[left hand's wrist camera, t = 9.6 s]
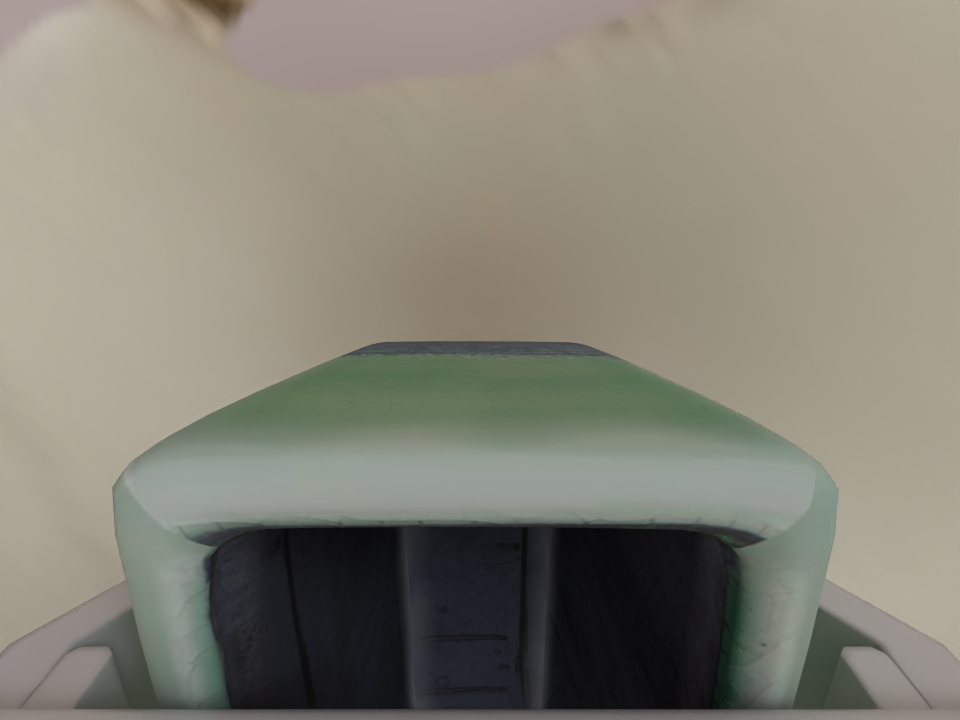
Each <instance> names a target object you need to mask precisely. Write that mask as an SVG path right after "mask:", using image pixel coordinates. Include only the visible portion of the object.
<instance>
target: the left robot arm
mask: <svg viewBox="0 0 960 720" xmlns="http://www.w3.org/2000/svg"><path fill="white" fill-rule="evenodd" d="M0 720H960V661H959V660H958V659H957V658H956V657H955V656H954V655H953V654H952V653H951V652H950V651H949V650H948V649H947V647H946V646H945V645H943V644H942V643H940V642H938V641H936V640H934V639H933V638H931V637H929V636H927V635H925V634H924V633H922V632H920V631H918V630H916V629H915V628H913V627H911V626H909V625H907V624H906V623H904V622H902V621H900V620H898V619H897V618H895V617H893V616H891V615H890V614H888V613H886V612H884V611H882V610H881V609H879V608H877V607H875V606H873V605H872V604H870V603H868V602H866V601H864V600H863V599H861V598H859V597H857V596H855V595H854V594H852V593H850V592H848V591H846V590H845V589H843V588H841V587H839V586H838V585H836V584H834V583H832V582H830V581H829V580H827V579H825V580H824V584H823V589H822V593H821V597H820V601H819V606H818V610H817V614H816V619H815V623H814V627H813V631H812V636H811V640H810V644H809V648H808V651H807V655H806V659H805V662H804V666H803V670H802V674H801V677H800V681H799V685H798V688H797V692H796V696H795V699H794V703H793V707H792V709H159V706H158V703H157V699H156V696H155V692H154V688H153V685H152V681H151V678H150V674H149V670H148V667H147V663H146V659H145V656H144V652H143V649H142V645H141V641H140V637H139V633H138V629H137V625H136V621H135V616H134V612H133V608H132V604H131V599H130V595H129V591H128V587H127V583H126V580H125V581H123V582H121V583H120V584H118V585H116V586H114V587H112V588H110V589H109V590H107V591H105V592H103V593H101V594H100V595H98V596H96V597H94V598H92V599H91V600H89V601H87V602H85V603H83V604H81V605H80V606H78V607H76V608H74V609H72V610H71V611H69V612H67V613H65V614H63V615H61V616H60V617H58V618H56V619H54V620H52V621H51V622H49V623H47V624H45V625H43V626H42V627H40V628H38V629H36V630H34V631H32V632H31V633H29V634H27V635H25V636H23V637H22V638H20V639H18V640H16V641H14V642H12V643H11V644H9V645H8V646H7V647H6V648H5V649H4V651H3V652H2V653H1V654H0Z"/></svg>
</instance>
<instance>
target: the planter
mask: <svg viewBox="0 0 960 720" xmlns="http://www.w3.org/2000/svg"><path fill="white" fill-rule="evenodd" d="M112 490H113V506H114V522H115V535H116V540H117V544H118V549H119V553H120V557H121V561H122V566H123V570H124V574H125V578H126V583H127V587H128V591H129V595H130V599H131V604H132V608H133V612H134V616H135V621H136V625H137V629H138V633H139V637H140V641H141V645H142V649H143V652H144V656H145V659H146V663H147V667H148V670H149V674H150V678H151V681H152V685H153V688H154V692H155V696H156V699H157V703H158V706H159V709H792V707H793V703H794V699H795V696H796V692H797V688H798V685H799V681H800V677H801V674H802V670H803V666H804V662H805V659H806V655H807V651H808V648H809V644H810V640H811V636H812V631H813V627H814V623H815V619H816V614H817V610H818V606H819V601H820V597H821V593H822V589H823V584H824V580H825V576H826V571H827V567H828V563H829V559H830V554H831V550H832V546H833V541H834V537H835V526H836V513H837V500H838V488H837V486H836V485H835V483H834V481H833V480H832V478H831V477H830V475H829V474H828V473H827V471H826V470H825V469H824V467H823V466H822V465H821V463H820V462H818V461H817V460H816V459H814V458H813V457H811V456H810V455H809V454H807V453H806V452H805V451H803V450H802V449H801V448H799V447H798V446H796V445H795V444H793V443H791V442H790V441H788V440H786V439H785V438H783V437H781V436H780V435H778V434H776V433H774V432H772V431H771V430H769V429H767V428H765V427H764V426H762V425H760V424H758V423H756V422H755V421H753V420H751V419H749V418H747V417H746V416H744V415H742V414H740V413H738V412H735V411H733V410H731V409H729V408H727V407H725V406H723V405H721V404H719V403H717V402H715V401H713V400H711V399H709V398H707V397H705V396H703V395H701V394H698V393H696V392H694V391H692V390H690V389H687V388H685V387H683V386H681V385H679V384H676V383H674V382H672V381H670V380H668V379H666V378H663V377H661V376H659V375H657V374H654V373H652V372H650V371H648V370H645V369H643V368H641V367H638V366H636V365H634V364H631V363H629V362H627V361H624V360H622V359H620V358H617V357H615V356H612V355H610V354H608V353H605V352H602V351H600V350H597V349H595V348H592V347H589V346H586V345H583V344H578V343H567V342H480V341H469V342H383V343H376V344H372V345H369V346H366V347H363V348H361V349H358V350H355V351H353V352H350V353H348V354H345V355H343V356H340V357H338V358H335V359H333V360H330V361H328V362H325V363H323V364H321V365H318V366H316V367H314V368H311V369H309V370H306V371H304V372H302V373H299V374H297V375H295V376H292V377H290V378H288V379H286V380H283V381H281V382H279V383H277V384H274V385H272V386H270V387H267V388H265V389H263V390H261V391H258V392H256V393H254V394H252V395H250V396H248V397H245V398H243V399H241V400H239V401H237V402H235V403H233V404H230V405H228V406H226V407H224V408H222V409H220V410H218V411H216V412H213V413H211V414H209V415H207V416H205V417H203V418H202V419H200V420H198V421H196V422H194V423H192V424H191V425H189V426H187V427H185V428H183V429H181V430H179V431H178V432H176V433H174V434H172V435H170V436H169V437H167V438H165V439H164V440H162V441H160V442H159V443H157V444H155V445H154V446H153V447H151V448H150V449H148V450H147V451H146V452H144V453H143V454H141V455H140V456H138V457H137V458H136V459H134V460H133V461H132V462H131V463H130V464H129V465H128V467H127V468H126V469H125V470H124V471H123V473H122V474H121V475H120V477H119V478H118V480H117V481H116V483H115V484H114V486H113V487H112Z"/></svg>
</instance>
